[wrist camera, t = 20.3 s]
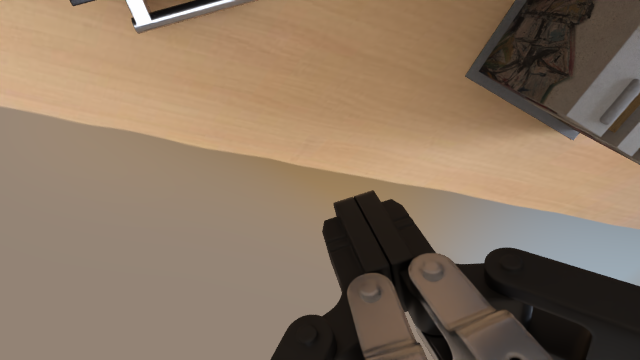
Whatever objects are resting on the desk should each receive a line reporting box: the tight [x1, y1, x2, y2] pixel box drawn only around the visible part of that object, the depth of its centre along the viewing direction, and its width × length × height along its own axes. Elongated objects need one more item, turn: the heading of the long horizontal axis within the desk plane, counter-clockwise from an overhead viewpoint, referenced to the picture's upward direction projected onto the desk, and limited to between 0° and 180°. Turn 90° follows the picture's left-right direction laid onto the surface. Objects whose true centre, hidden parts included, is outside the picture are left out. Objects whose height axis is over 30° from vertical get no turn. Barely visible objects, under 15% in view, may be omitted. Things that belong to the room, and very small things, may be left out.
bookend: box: [465, 0, 640, 165], centre depth 47 cm, size 16×25×16 cm, turn 62°
